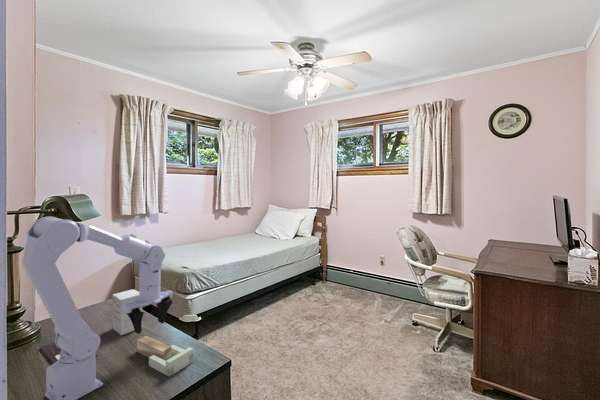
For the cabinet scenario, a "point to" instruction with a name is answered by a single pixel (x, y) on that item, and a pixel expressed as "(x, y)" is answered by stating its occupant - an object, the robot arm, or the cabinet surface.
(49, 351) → the chocolate bar
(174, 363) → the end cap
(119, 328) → the supplement box
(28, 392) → the cabinet surface
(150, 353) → the tan wooden block
